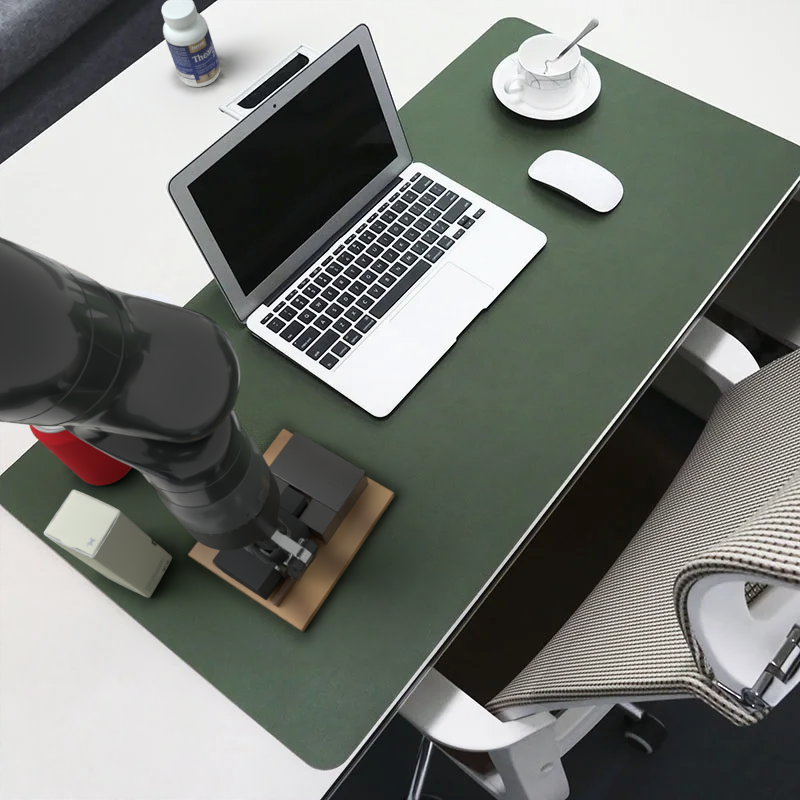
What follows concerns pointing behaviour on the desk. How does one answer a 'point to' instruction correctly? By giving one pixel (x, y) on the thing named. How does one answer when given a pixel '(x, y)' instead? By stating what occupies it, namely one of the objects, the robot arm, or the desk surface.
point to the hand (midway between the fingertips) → (265, 551)
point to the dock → (323, 559)
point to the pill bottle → (190, 43)
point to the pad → (244, 563)
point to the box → (108, 543)
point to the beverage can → (80, 455)
